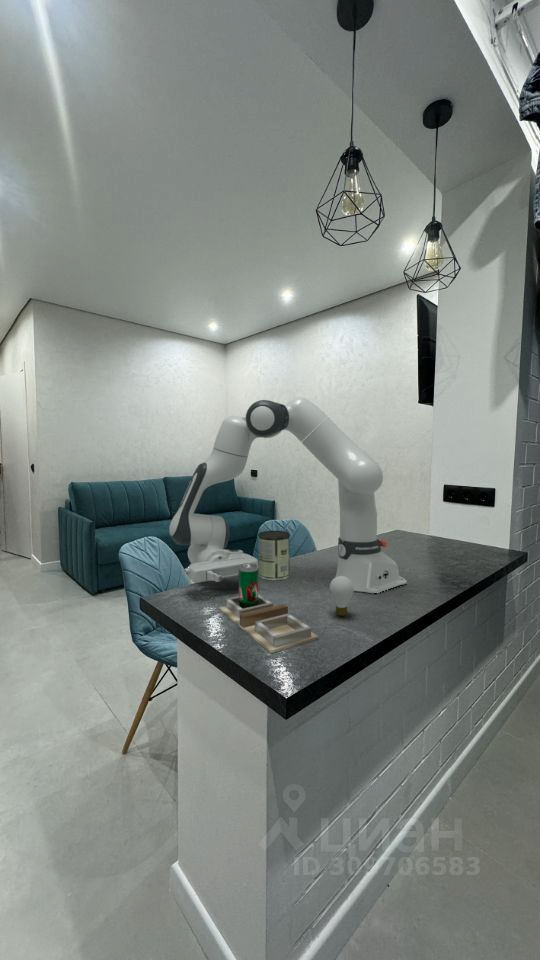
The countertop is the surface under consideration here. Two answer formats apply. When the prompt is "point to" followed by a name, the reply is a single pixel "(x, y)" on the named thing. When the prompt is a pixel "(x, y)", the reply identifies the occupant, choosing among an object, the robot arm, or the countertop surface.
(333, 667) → the countertop surface
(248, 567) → the soda can
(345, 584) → the light bulb
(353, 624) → the countertop surface
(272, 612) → the socket board
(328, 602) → the countertop surface
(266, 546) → the coffee can
